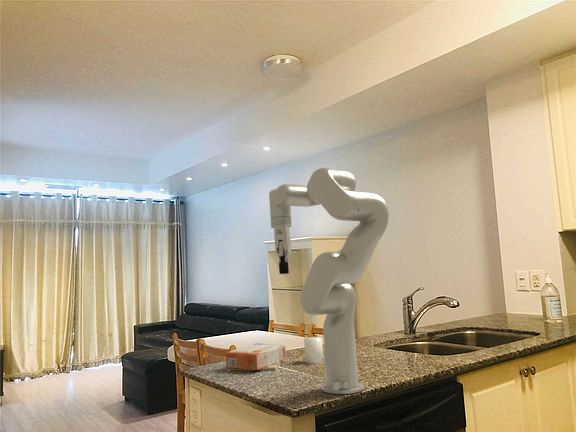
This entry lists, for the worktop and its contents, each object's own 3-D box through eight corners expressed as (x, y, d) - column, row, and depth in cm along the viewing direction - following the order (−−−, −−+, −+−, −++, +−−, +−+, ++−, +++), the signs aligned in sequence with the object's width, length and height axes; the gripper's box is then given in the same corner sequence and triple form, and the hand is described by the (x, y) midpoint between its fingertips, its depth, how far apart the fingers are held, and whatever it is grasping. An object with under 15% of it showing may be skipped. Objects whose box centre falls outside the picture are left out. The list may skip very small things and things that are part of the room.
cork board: (275, 370, 158) (275, 368, 158) (227, 371, 160) (227, 369, 160) (282, 361, 173) (282, 359, 173) (238, 362, 176) (238, 360, 176)
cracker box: (256, 371, 154) (286, 359, 172) (256, 354, 155) (286, 343, 173) (225, 368, 161) (257, 357, 179) (225, 352, 162) (257, 342, 180)
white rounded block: (322, 363, 166) (321, 339, 167) (304, 363, 167) (303, 339, 168) (323, 359, 172) (322, 336, 174) (306, 360, 173) (305, 337, 175)
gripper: (288, 219, 150) (292, 272, 147) (293, 224, 165) (296, 273, 162) (267, 221, 151) (270, 274, 148) (273, 226, 166) (276, 274, 163)
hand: (284, 273), depth 155 cm, fingers closed
